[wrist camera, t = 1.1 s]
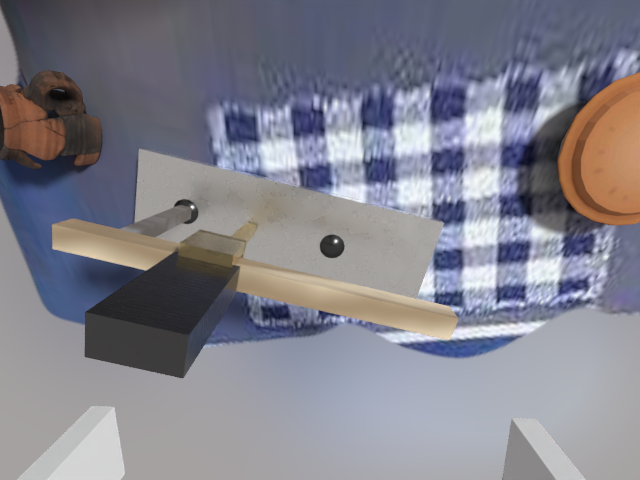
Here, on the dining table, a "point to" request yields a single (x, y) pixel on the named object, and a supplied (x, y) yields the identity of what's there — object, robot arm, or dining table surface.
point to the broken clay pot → (47, 122)
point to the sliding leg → (169, 306)
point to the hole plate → (291, 222)
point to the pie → (604, 155)
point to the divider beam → (255, 275)
